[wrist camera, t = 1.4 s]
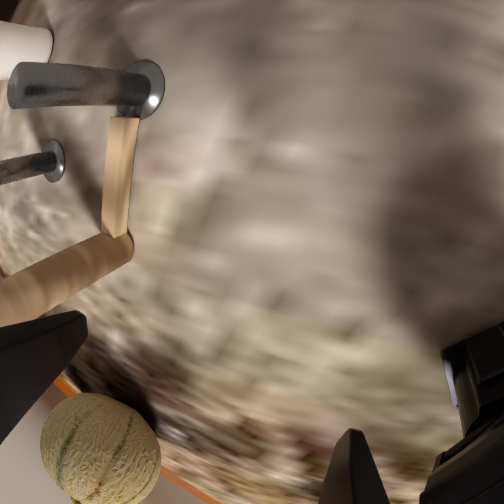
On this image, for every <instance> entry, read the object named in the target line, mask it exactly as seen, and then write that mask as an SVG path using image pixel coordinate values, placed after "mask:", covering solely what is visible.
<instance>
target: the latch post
mask: <svg viewBox="0 0 504 504" xmlns="http://www.w3.org/2000/svg"><path fill="white" fill-rule="evenodd" d="M64 169H65V155H64V151H63V148H62V146H61V144H60V143H59V142H58V141H56V140H50V141H48V142H47V143H46V144H45V145H44V147H43V149H42V153H36V154H31V155H26V156H21V157H16V158H11V159H7V160H2V161H0V185H3V184H7V183H11V182H14V181H18V180H22V179H25V178H29V177H33V176H37V175H41V174H44V176H45V178H46V179H47V180H48V181H49V182H57V181H59V180H60V179H61V177H62V175H63V173H64Z"/></svg>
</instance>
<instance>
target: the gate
mask: <svg viewBox="0 0 504 504" xmlns="http://www.w3.org/2000/svg"><path fill="white" fill-rule="evenodd" d="M139 119H140V118H133V117H126V116H116V117H111V119H110V126H109V133H108V141H107V150H106V159H105V170H104V182H103V197H102V218H101V233H100V234H98V235H95V236H93V237H91V238H89V239H86V240H84V241H82V242H80V243H78V244H75V245H73V246H71V247H69V248H67V249H64V250H62V251H60V252H58V253H56V254H54V255H52V256H50V257H48V258H46V259H43V260H41V261H39V262H37V263H35V264H33V265H31V266H29V267H27V268H25V269H23V270H21V271H19V272H17V273H15V274H13V275H12V276H10V277H8V278H6V279H4V280H2V281H0V327H3V326H7V325H12V324H17V323H21V322H25V321H30V320H34V319H36V318H37V317H39V316H41V315H42V314H44V313H45V312H47V311H48V310H50V309H52V308H53V307H55V306H56V305H58V304H59V303H61V302H63V301H64V300H66V299H67V298H69V297H71V296H72V295H74V294H76V293H77V292H79V291H80V290H82V289H84V288H85V287H87V286H89V285H90V284H92V283H94V282H95V281H97V280H99V279H100V278H102V277H104V276H105V275H107V274H109V273H110V272H112V271H114V270H115V269H117V268H119V267H121V266H122V265H124V264H126V263H127V262H129V261H130V260H131V259H132V257H133V253H134V248H133V243H132V240H131V238H130V236H129V235H128V234H127V222H128V208H129V197H130V186H131V177H132V168H133V160H134V152H135V145H136V138H137V131H138V125H139Z"/></svg>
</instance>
